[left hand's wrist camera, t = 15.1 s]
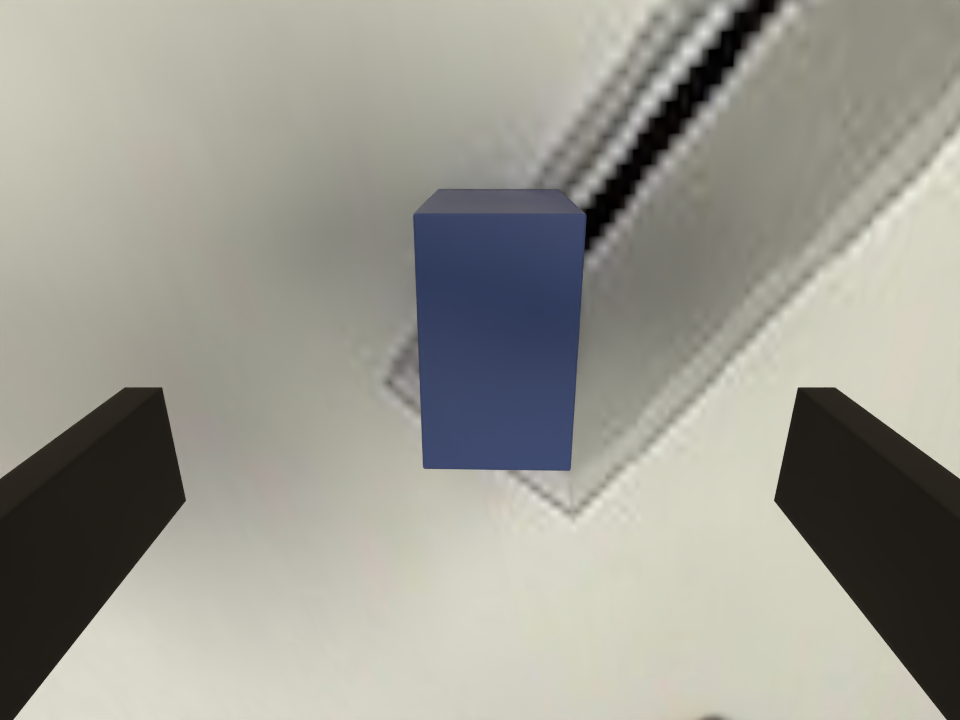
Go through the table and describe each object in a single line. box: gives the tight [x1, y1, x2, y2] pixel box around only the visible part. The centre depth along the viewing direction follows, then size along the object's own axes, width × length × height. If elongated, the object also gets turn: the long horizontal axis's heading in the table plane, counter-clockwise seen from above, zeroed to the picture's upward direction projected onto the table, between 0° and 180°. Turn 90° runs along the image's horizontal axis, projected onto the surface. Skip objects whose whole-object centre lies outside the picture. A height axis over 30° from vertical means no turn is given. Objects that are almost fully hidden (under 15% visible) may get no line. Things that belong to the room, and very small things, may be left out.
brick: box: [413, 189, 586, 471], centre depth 22 cm, size 8×5×8 cm, turn 0°
